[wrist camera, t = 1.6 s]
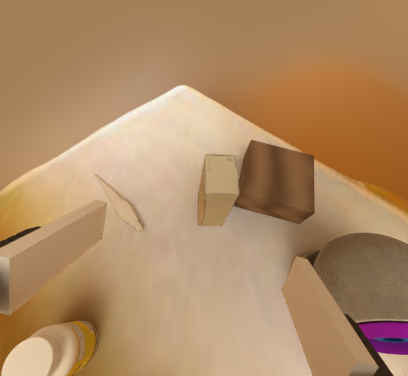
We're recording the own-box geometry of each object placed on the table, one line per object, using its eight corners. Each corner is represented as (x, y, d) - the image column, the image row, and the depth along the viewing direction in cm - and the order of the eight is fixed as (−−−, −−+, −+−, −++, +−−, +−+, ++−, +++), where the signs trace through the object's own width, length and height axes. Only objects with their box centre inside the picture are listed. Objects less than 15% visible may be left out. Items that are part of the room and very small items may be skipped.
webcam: (288, 332, 29) (372, 352, 16) (287, 242, 36) (347, 206, 23) (381, 352, 29) (540, 389, 16) (363, 258, 35) (467, 230, 22)
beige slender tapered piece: (150, 227, 35) (148, 223, 33) (136, 238, 34) (133, 234, 32) (102, 173, 40) (98, 167, 38) (89, 180, 39) (85, 175, 37)
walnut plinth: (300, 170, 44) (313, 155, 39) (299, 223, 38) (314, 213, 33) (244, 156, 44) (251, 139, 40) (234, 206, 38) (240, 193, 34)
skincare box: (198, 194, 39) (203, 152, 28) (221, 194, 39) (236, 153, 29) (197, 226, 36) (204, 193, 25) (223, 227, 36) (240, 194, 25)
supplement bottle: (50, 379, 25) (-18, 417, 16) (55, 326, 27) (-3, 335, 19) (99, 365, 26) (58, 394, 17) (99, 315, 28) (63, 319, 20)
